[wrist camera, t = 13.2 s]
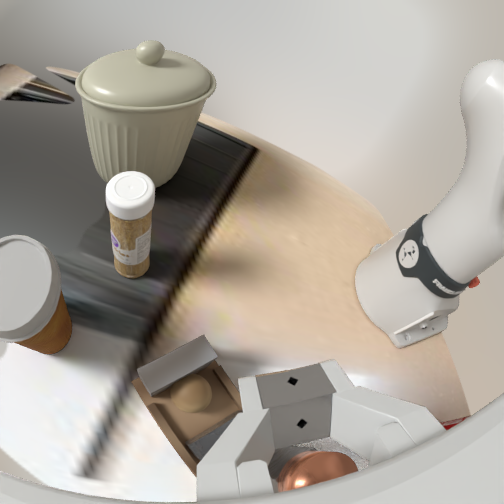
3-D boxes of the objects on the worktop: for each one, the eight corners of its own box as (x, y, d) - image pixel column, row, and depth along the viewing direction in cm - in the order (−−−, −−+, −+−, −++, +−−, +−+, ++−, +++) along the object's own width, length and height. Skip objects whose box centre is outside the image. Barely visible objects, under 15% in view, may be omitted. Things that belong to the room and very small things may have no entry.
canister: (205, 203, 43) (248, 74, 26) (82, 219, 35) (65, 76, 18) (180, 131, 51) (206, 27, 34) (84, 140, 43) (85, 27, 26)
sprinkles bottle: (107, 264, 33) (95, 187, 23) (131, 241, 36) (131, 162, 25) (133, 287, 33) (129, 215, 22) (157, 262, 36) (166, 186, 25)
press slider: (267, 451, 26) (385, 463, 11) (217, 484, 22) (298, 545, 8) (236, 410, 27) (331, 390, 13) (184, 442, 24) (227, 470, 10)
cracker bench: (300, 480, 26) (330, 487, 21) (238, 524, 21) (258, 543, 16) (201, 346, 32) (212, 329, 27) (132, 382, 27) (126, 373, 22)
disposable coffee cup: (64, 276, 30) (38, 213, 21) (99, 344, 28) (75, 302, 19) (4, 310, 25) (-42, 259, 16) (34, 382, 23) (-18, 357, 13)
